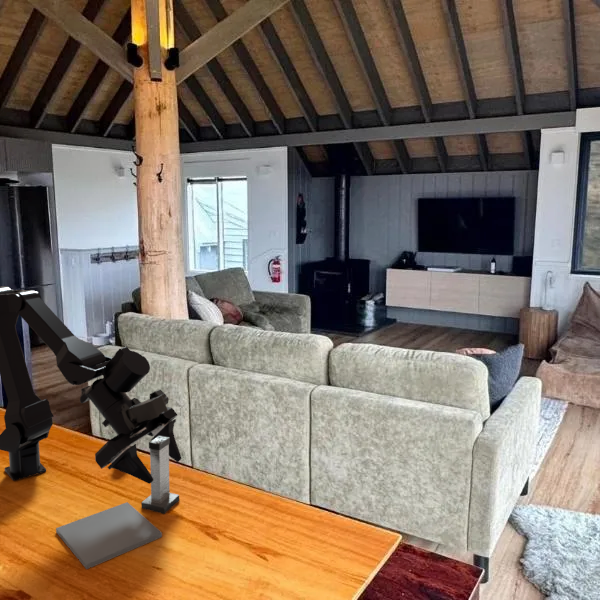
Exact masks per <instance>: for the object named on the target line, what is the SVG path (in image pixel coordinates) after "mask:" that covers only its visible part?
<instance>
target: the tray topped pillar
mask: <svg viewBox="0 0 600 600" xmlns="http://www.w3.org/2000/svg"><path fill="white" fill-rule="evenodd" d="M169 444H170V437H164V436H158V437H156V438H155V439H153V440H152V441H151V440H149V442H148V449H149V457H150V458H149V460H150V462H149V463H150V474H151V476H152V478H153V479H154V480H153V481H152V482H151V483H150V495H149V496H147V497H146V498H145V499H144V500H143V501H142V502H141V503H140V505H141V509H143V510H147V511H151V512H155V513H159V514H163V515H165V514H166V513H168V512H169V510H171V509H173V507H174V506H176V504H178V502H180V495H179V494H176V493H174V492H170V456H169Z"/></svg>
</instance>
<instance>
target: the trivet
mask: <svg viewBox="0 0 600 600" xmlns="http://www.w3.org/2000/svg"><path fill="white" fill-rule="evenodd" d="M55 532H56V534H57V535H58V536H59V537H60V539H61V540H62V541H63V542H64V544H65V545H66V546H67V547H68V549H69V548H70V549H69V550H70V551H71V552H72V553H73V555H74V556H75V557H76V559H77V560H78V559H79V560H78V561H79V563H80V564H82V566H83V567H84V568H85V569H86V570H88V569H91V568H93V567H96V566H97V565H100V564H102V563H105V562H106V561H109V560H111V559H114V558H117V557H118V556H121V555H123V554H125V553H128V552H130V551H133V550H135V549H137V548H140V547H142V546H144V545H147V544H149V543H151V542H154V541H156V540H158V539H161V538H162V537H163V532H162V531H161V530H160V529H159V528H158V527H156V526H155V525H154V524H153V523H152V522H151V521H149V520H148V519H147V518H146V517H145V516H144V515H143V514H141V513H140V512H139V510H137V509H136V508H135V507H134V506H133V505H131V504H130V503H129V502H128V501H127V502H124V503H121V504H118V505H116V506H113V507H110V508H108V509H105V510H102V511H99V512H97V513H94V514H91V515H88V516H85V517H82V518H79V519H77V520H74V521H72V522H69V523H66V524H63V525H61V526H59V527H55ZM90 567H91V568H90Z"/></svg>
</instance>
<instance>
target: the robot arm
mask: <svg viewBox="0 0 600 600" xmlns="http://www.w3.org/2000/svg"><path fill="white" fill-rule="evenodd" d="M19 316H20V317H21V318H22V319H23V320H24V322H25V323H26V324H27V325H28V326H29V327H30V328H31V330H33V332H34V333H35V334H36V335H37V336H38V337H39V338H40V340H41V341H42V342H43V343H44V344H45V345H46V346H47V347H48V348H49V349H50V350H51V352H52V353H53V354H54V356H55V358H56V359H55V361H56V366H57V369H58V370H59V371H60V373H61V374H62V376H63V377H64V379H65V380H66V381H67V382H68V383H69V384H71V385H72V386H80V385H83V384H85V383H88V382H91V381H93V380H94V381H93V382H92V384H90V385H87V386H85V387H83V388H81V394H80V397H79V402H80V404H84V403H87V402H88V401H90V402H91V403H92V404H93V405H94V407H95V408H96V409H97V411H99V414H101V416H102V417H103V419H104V421H102V425H103V426H104V428H106V427H108V426H110V428H111V429H112V430H113V431H114V433H116V435H115V436H114V437H112V438H110V439H108V440H107V441H106V442H105V443H104V444H103V446H102V447H100V449H99V450H97V451H96V452H95V453H94V460H95V461H94V462H95V463H97V465H98V467H100V469H103V468H105V467H107V469H108V470H111V469H114V470H116V471H119V472H121V473H125V474H127V475H129V476H131V477H133V478H135V479H139V480H140V481H142V482H145V483H147V484H150V485H151V482H152V481H153V480H154V479H153V478H152V476H151V471H149V469H148V468H147V467H146V465H145V463H144V462H143V461H142V460H141V458H140V457H139V456H138V449H137V444H136V442H138V441H140V440H141V439H142V438H144V437H146V436H150V437H152V438H151V439H150V441H152V440H153V439H155V438H156V437H158V436H164V437H170V444H169V458H171V459H172V460H174V461H176V462H177V463H178V462H180V461H181V460H182V456H181V453H180V450H179V447H178V445H177V440H176V438H175V433H174V427H175V423H176V422H177V419H176V417H177V416H178V413H177V412H176V411H175V410H174V408H172V407H170V406H169V407H168V406H167V405H169V397H168V396H167V394H165V392H164V391H163V390H162V389H157V390H155V391H152V392H151V393H149V399H147V400H145V401H142V402H141V401H140V400H139V399H138V398H137V397H133V398H130V397H129V396H128V394H127V393H129V392H131V391H132V390H133V389H134V388H135V387H136V386H137V385H138V384H139V383H140V382H141V381H142V380H143V379H144V378H145V377H146V376H147V374H149V372H150V369H151V365H150V363H149V360H148V359H147V358H146V356H144V355H142V354H141V353H139V352H136V351H134V350H131V349H130V348H129V347H128V346H124V347H123V346H122V347H121V348H119V349H118V350H116V352H115V354H114V356H112V357H111V356H109V355H105V354H104V353H103V352H102V351H101V350H99V348H97V347H96V346H94V345H93V344H92V343H90V342H88V341H85V340H83V339H80V338H79V337H77V336H76V335H75V334H74V333H73V331H71V330H70V329H69V328H68V326H67V325H66V324H65V323H64V322H63V321H62V320H61V319H60V318H59V316H57V315H56V314H55V312H53V310H52V309H51V308H50V307H49V306H48V305H47V304H46V303H45V302H44V301H43V299H42V297H41V294H40V293H39V291H35V290H34V289H29V290H26V289H25V290H24V289H17V290H14V289H11V288H10V287H9V286H6V285H3V286H0V377H1V381H2V385H3V387H4V391H5V395H6V398H7V406H6V409H5V412H4V415H3V420H4V424H5V425H4V427H5V429H4V430H3V431H2V432H1V433H0V451H3V452H7V453H8V460H9V461H8V462H9V466H5V467H4V472H5V473H6V474H7V475H8V476H9V478H10V479H11V480H12V481H14V482H15V481H19V480H22V479H25V478H28V477H32V476H36V475H40V474H43V473H45V472H47V468H46V467H45V465H43V464H42V463H41V459H40V456H41V455H40V442H41V441H42V440H44V439H47V438H49V434H50V430H51V428H52V426H53V421H54V420H53V418H54V414H53V413H52V410H51V407H50V402H49V400H48V399H47V398H45V399H41V398H40V397H39V396H38V395H37V393H35V391H34V386H33V384H32V381H31V380H32V379H31V377H30V373H29V370H28V367H27V363H26V359H25V356H24V352H23V349H22V346H21V342H20V339H19V335H18V332H17V328H16V327H17V326H16V325H17V322H18V318H19ZM102 376H103V377H102ZM100 377H102V378H100ZM131 445H132V446H131Z"/></svg>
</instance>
